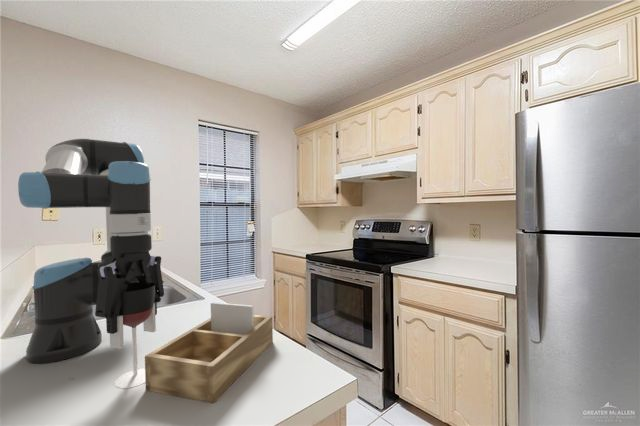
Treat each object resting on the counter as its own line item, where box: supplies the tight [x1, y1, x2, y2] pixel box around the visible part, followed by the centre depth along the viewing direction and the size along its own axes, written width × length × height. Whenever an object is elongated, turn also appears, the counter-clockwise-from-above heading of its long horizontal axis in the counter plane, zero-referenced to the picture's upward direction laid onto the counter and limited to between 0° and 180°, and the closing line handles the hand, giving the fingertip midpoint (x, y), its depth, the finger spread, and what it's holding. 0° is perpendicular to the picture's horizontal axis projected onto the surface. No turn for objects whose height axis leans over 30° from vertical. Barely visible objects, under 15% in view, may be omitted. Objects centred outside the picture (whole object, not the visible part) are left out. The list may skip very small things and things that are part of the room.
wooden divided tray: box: [144, 314, 274, 404], centre depth 70 cm, size 16×26×7 cm, turn 164°
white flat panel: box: [210, 301, 255, 335], centre depth 76 cm, size 12×1×11 cm, turn 74°
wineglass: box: [112, 282, 155, 389], centre depth 64 cm, size 8×9×20 cm
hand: (134, 338), depth 64 cm, fingers closed on wineglass, 7 cm apart
